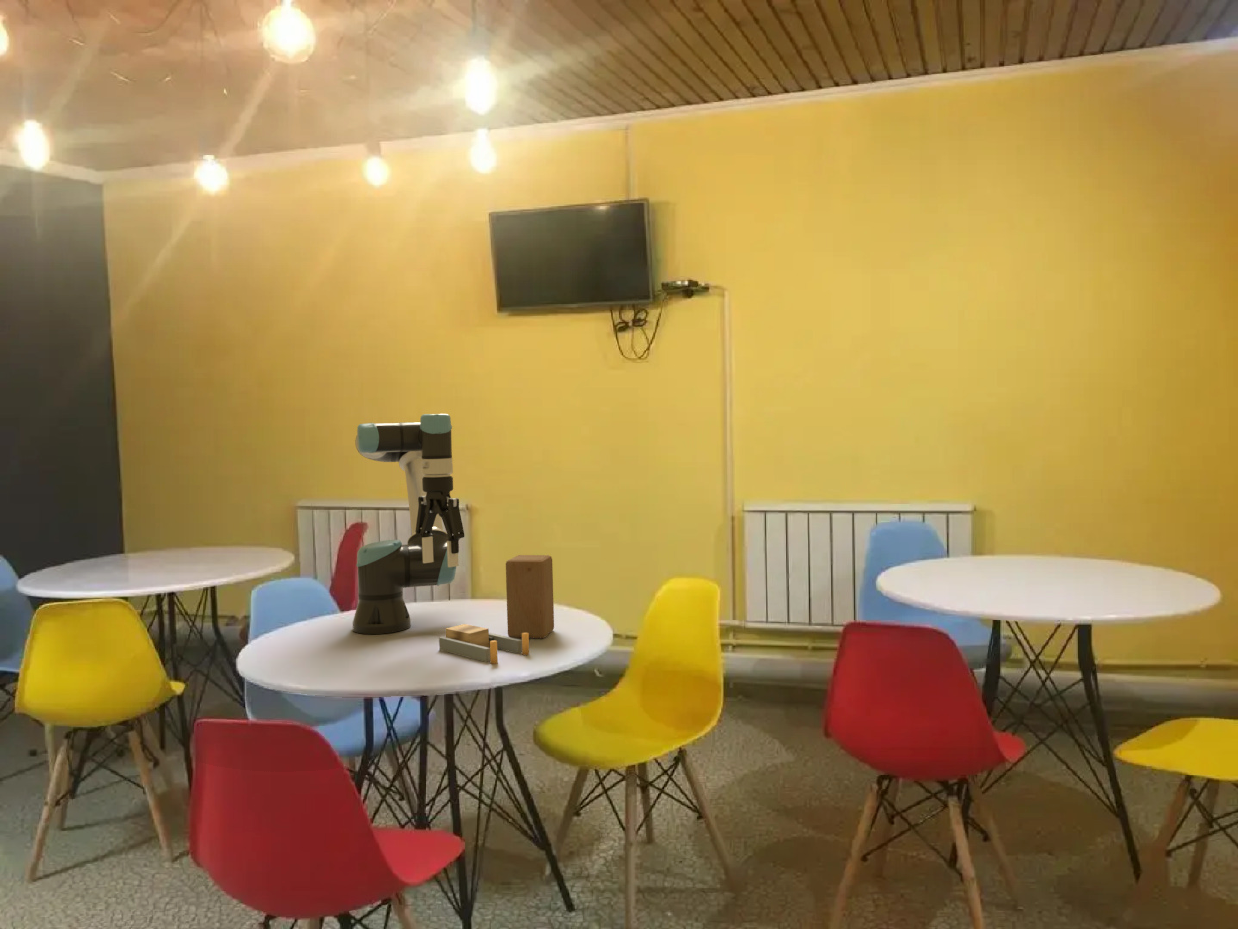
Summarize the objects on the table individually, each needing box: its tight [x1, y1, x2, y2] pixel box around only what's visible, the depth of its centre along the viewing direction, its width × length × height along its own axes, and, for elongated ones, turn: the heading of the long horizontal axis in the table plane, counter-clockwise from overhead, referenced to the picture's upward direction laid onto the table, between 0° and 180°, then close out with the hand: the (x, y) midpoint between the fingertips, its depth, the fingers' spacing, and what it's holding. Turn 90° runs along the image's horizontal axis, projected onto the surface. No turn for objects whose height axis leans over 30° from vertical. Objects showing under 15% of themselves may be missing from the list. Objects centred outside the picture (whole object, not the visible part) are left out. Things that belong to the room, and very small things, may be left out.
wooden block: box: [505, 554, 555, 640], centre depth 236 cm, size 10×10×20 cm
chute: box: [438, 632, 530, 665], centre depth 219 cm, size 21×11×5 cm, turn 47°
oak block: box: [445, 623, 490, 648], centre depth 224 cm, size 9×6×5 cm, turn 50°
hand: (440, 564), depth 230 cm, fingers open, 10 cm apart
